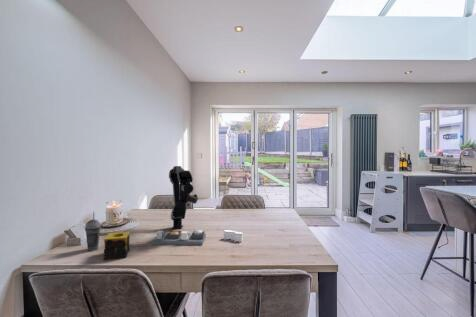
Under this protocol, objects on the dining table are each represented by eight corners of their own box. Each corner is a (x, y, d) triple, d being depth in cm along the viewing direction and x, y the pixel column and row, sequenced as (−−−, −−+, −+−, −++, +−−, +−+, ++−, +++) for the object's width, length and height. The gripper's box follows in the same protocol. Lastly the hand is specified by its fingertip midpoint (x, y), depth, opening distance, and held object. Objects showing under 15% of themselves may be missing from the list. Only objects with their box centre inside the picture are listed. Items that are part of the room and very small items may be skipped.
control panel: (160, 236, 150) (160, 228, 150) (205, 237, 149) (205, 229, 149) (152, 244, 137) (152, 236, 137) (202, 245, 136) (202, 237, 136)
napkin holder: (218, 239, 147) (218, 229, 147) (234, 235, 154) (234, 226, 153) (232, 247, 135) (232, 237, 135) (248, 243, 141) (249, 233, 141)
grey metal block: (158, 237, 141) (158, 230, 140) (163, 237, 141) (163, 230, 140) (156, 239, 138) (156, 232, 137) (161, 239, 138) (161, 232, 137)
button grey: (194, 232, 145) (194, 229, 145) (203, 233, 145) (203, 229, 145) (192, 235, 140) (192, 232, 140) (201, 235, 140) (201, 232, 140)
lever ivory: (182, 238, 140) (182, 231, 140) (187, 238, 140) (187, 231, 140) (181, 239, 137) (181, 232, 137) (186, 240, 137) (186, 233, 137)
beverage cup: (97, 245, 133) (97, 209, 133) (103, 249, 129) (103, 211, 128) (82, 249, 128) (82, 211, 127) (88, 253, 123) (87, 213, 123)
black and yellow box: (103, 260, 116) (103, 239, 116) (108, 251, 125) (108, 232, 125) (126, 258, 118) (126, 237, 118) (129, 250, 128) (129, 231, 128)
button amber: (171, 234, 145) (171, 231, 145) (179, 234, 145) (179, 231, 145) (168, 237, 140) (168, 234, 140) (177, 237, 140) (177, 234, 140)
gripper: (194, 193, 141) (193, 220, 142) (199, 189, 160) (199, 212, 160) (174, 193, 141) (174, 220, 142) (182, 188, 160) (182, 212, 160)
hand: (183, 216), depth 151 cm, fingers closed
